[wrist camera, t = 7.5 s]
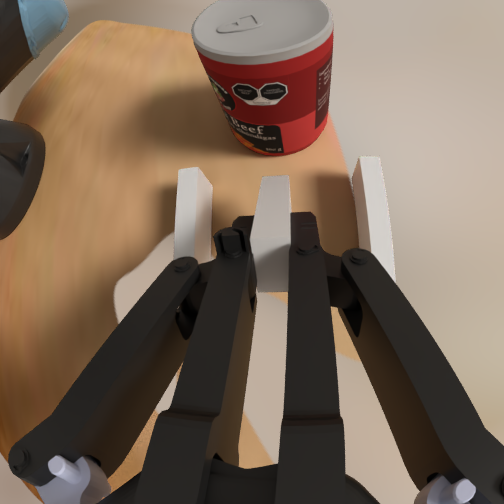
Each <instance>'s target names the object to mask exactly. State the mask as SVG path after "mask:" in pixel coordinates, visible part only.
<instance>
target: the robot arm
mask: <svg viewBox="0 0 504 504" xmlns="http://www.w3.org/2000/svg"><path fill="white" fill-rule="evenodd" d="M68 18H69V15H68V10H67V7H66V5H65V2H64V0H0V93H1V92H2V91H3V90H4V89H5V88H6V87H7V86H8V84H9V83H10V82H11V81H12V80H13V79H14V78H15V77H16V76H17V75H18V74H19V73H20V72H21V71H22V70H23V69H24V68H25V67H26V66H27V65H28V64H29V63H30V62H31V61H32V60H33V59H36V58H38V57H39V55H40V52H41V51H42V50H43V49H45V48H46V47H47V46H48V45H49V44H50V43H51V42H52V41H53V40H54V39H55V38H56V37H58V36H59V35H60V34H61V33H62V32H63V30H64V29H65V28H66V25H67V23H68ZM44 160H45V142H44V139H43V137H42V135H41V134H40V133H39V132H38V131H36V130H35V129H33V128H32V127H31V126H29V125H27V124H23V123H18V122H13V121H7V120H2V119H0V240H1V239H3V238H5V237H6V236H8V235H9V234H10V233H11V232H12V231H13V230H14V229H15V228H16V226H17V225H18V224H19V222H20V221H21V219H22V218H23V216H24V215H25V213H26V211H27V209H28V207H29V205H30V203H31V201H32V199H33V197H34V194H35V192H36V189H37V187H38V184H39V181H40V178H41V174H42V170H43V166H44ZM213 238H214V242H215V247H216V251H217V256H216V259H214V260H212V261H209V262H205V263H201V264H198V260H197V259H195V258H194V257H190V256H184V257H180V258H177V259H175V260H173V261H172V262H171V263H170V264H168V266H167V267H166V268H165V269H164V270H163V272H162V273H161V274H160V275H159V276H158V277H157V279H156V280H155V281H154V282H153V283H152V284H151V286H150V287H149V288H148V289H147V290H146V292H145V293H144V294H143V295H142V297H141V298H140V299H139V300H138V301H137V303H136V304H135V305H134V306H133V308H132V309H131V310H130V311H129V312H128V314H127V315H126V316H125V317H124V319H123V320H122V321H121V322H120V324H119V325H118V326H117V327H116V329H115V330H114V331H113V332H112V334H111V335H110V336H109V338H108V339H107V340H106V341H105V343H104V344H103V345H102V347H101V348H100V349H99V350H98V352H97V353H96V354H95V356H94V357H93V358H92V360H91V361H90V362H89V364H88V365H87V366H86V368H85V369H84V370H83V372H82V373H81V374H80V376H79V377H78V378H77V380H76V381H75V382H74V384H73V385H72V387H71V388H70V389H69V391H68V392H67V393H66V395H65V396H64V398H63V399H62V400H61V402H60V403H59V405H58V406H57V408H56V409H55V410H54V412H53V413H52V415H50V416H49V417H48V418H47V419H45V420H44V421H43V422H42V423H40V424H39V425H38V426H37V427H35V428H34V429H33V430H32V431H30V432H29V433H28V434H27V435H25V436H24V437H23V438H21V439H20V440H19V441H18V442H16V443H15V444H14V445H13V447H12V448H11V450H10V452H9V458H8V463H9V467H10V469H11V471H12V473H13V474H14V475H16V476H17V477H19V478H20V479H22V480H24V481H26V482H28V483H30V484H32V485H34V486H35V487H36V489H37V491H38V492H39V494H40V496H41V498H42V500H43V501H44V503H45V504H380V503H379V502H378V501H377V500H376V499H375V498H374V497H373V496H372V495H371V494H370V493H369V492H368V491H367V490H366V489H365V487H363V486H362V485H361V484H360V483H359V482H358V481H356V480H355V479H354V478H352V477H350V476H348V475H347V474H345V440H344V424H343V419H342V417H341V416H340V409H339V393H338V379H337V366H336V354H335V343H334V333H333V324H332V315H331V306H332V307H337V308H338V312H339V314H340V316H341V318H342V320H343V323H344V325H345V327H346V329H347V331H348V333H349V335H350V337H351V340H352V342H353V344H354V346H355V348H356V350H357V353H358V355H359V357H360V359H361V361H362V364H363V366H364V368H365V370H366V373H367V375H368V377H369V379H370V382H371V384H372V386H373V388H374V391H375V393H376V395H377V398H378V400H379V402H380V405H381V407H382V410H383V412H384V414H385V417H386V419H387V421H388V424H389V426H390V429H391V431H392V434H393V436H394V439H395V441H396V444H397V446H398V449H399V451H400V454H401V457H402V459H403V462H404V464H405V467H406V469H407V471H408V473H409V475H410V477H411V479H412V481H413V482H414V484H415V485H416V487H417V488H418V490H419V491H420V492H419V493H418V495H417V497H416V499H415V501H414V504H504V446H503V445H502V444H501V443H500V442H499V441H498V440H497V439H496V438H495V437H494V436H493V435H492V434H491V433H490V432H488V431H487V430H486V429H485V427H484V425H483V423H482V421H481V419H480V417H479V415H478V413H477V412H476V410H475V408H474V406H473V404H472V402H471V400H470V399H469V397H468V395H467V393H466V392H465V390H464V388H463V386H462V384H461V383H460V381H459V379H458V377H457V376H456V374H455V372H454V371H453V369H452V367H451V366H450V364H449V362H448V361H447V359H446V357H445V356H444V354H443V353H442V351H441V349H440V348H439V346H438V345H437V343H436V342H435V340H434V338H433V337H432V335H431V334H430V332H429V331H428V329H427V328H426V326H425V325H424V323H423V322H422V320H421V319H420V317H419V316H418V314H417V313H416V312H415V310H414V309H413V307H412V306H411V304H410V303H409V301H408V300H407V299H406V297H405V296H404V294H403V293H402V292H401V290H400V289H399V287H398V286H397V285H396V283H395V282H394V281H393V279H392V278H391V277H390V275H389V274H388V272H387V271H386V270H385V268H384V267H383V266H382V265H381V263H380V262H379V261H378V259H377V258H376V257H375V255H374V254H372V253H371V252H370V251H368V250H365V249H360V248H354V249H349V250H347V251H345V252H344V253H343V255H342V257H340V256H334V255H331V254H328V253H326V252H325V251H324V250H323V249H322V247H321V245H320V240H319V234H318V228H317V221H316V216H315V215H313V214H312V213H311V212H295V213H292V212H291V198H290V184H289V175H280V176H265V177H262V181H261V186H260V191H259V196H258V201H257V206H256V211H255V215H253V216H239V217H238V218H237V219H236V220H235V221H233V224H232V227H228V228H224V229H222V230H220V231H218V232H217V233H215V235H214V236H213ZM256 287H257V290H258V292H288V321H287V351H286V373H285V393H284V411H283V419H282V424H281V434H280V447H279V460H278V461H279V462H278V464H274V465H268V466H263V467H257V468H251V469H244V468H240V467H239V453H238V443H239V435H240V428H241V421H242V414H243V406H244V399H245V398H244V397H245V391H246V384H247V376H248V369H249V361H250V353H251V345H252V337H253V329H254V322H255V314H256V305H257V297H256ZM178 307H179V308H178ZM182 362H183V365H182V368H181V372H180V375H179V379H178V382H177V385H176V389H175V392H174V396H173V400H172V403H171V406H170V408H169V409H168V410H165V411H162V412H161V413H160V414H159V415H158V417H157V420H156V422H155V425H154V429H153V432H152V436H151V439H150V443H149V446H148V450H147V453H146V457H145V461H144V464H143V468H142V471H141V472H140V473H138V474H137V475H136V476H134V477H133V478H132V479H130V480H129V481H128V482H126V483H125V484H124V485H122V486H121V487H119V488H118V489H117V490H115V491H114V492H112V493H111V494H110V492H111V486H110V484H109V483H108V481H107V479H108V478H109V477H110V476H111V475H112V474H113V473H114V472H115V471H116V470H117V468H118V467H119V466H120V465H121V464H122V462H123V461H124V459H125V458H126V456H127V455H128V453H129V452H130V450H131V448H132V447H133V445H134V443H135V442H136V440H137V438H138V437H139V435H140V433H141V431H142V430H143V428H144V426H145V425H146V423H147V421H148V420H149V418H150V416H151V415H152V413H153V411H154V409H155V408H156V406H157V404H158V403H159V401H160V399H161V398H162V396H163V394H164V392H165V391H166V389H167V388H168V386H169V384H170V383H171V381H172V379H173V377H174V376H175V374H176V372H177V371H178V369H179V367H180V366H181V364H182ZM109 494H110V495H109ZM103 497H105V498H104V499H102V498H103ZM101 499H102V500H101ZM100 500H101V501H100Z"/></svg>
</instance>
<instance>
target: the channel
mask: <svg viewBox="0 0 504 504" xmlns="http://www.w3.org/2000/svg"><path fill="white" fill-rule="evenodd" d="M352 184H353V191H354V199H355V208H356V217H357V227H358V238H359V248H360V249H365V250H368V251H370V252H371V253H372V254H374V255H375V257H376V258H377V259H378V261H379V262H380V263H381V265H382V266H383V267H384V268H385V270H386V271H387V272H388V274H389V275H390V277H391V278H392V279H393V281H394V282H395V283H396V281H395V266H394V254H393V243H392V234H391V225H390V217H389V210H388V203H387V196H386V191H385V184H384V178H383V172H382V167H381V162H380V157H379V156H359V158H358V161H357V164H356V168H355V170H354V173H353V176H352ZM212 191H213V186H212V185H211V183H210V182H209V181H208V179H207V178H206V177H205V175H204V174H203V173H202V171H201V170H200V169H199V167H193V168H186V169H179V174H178V187H177V200H176V216H175V236H174V260H175V259H177V258H180V257H184V256H190V257H194V258H195V259H197V260H198V264H201V263H205V262H209V261H211V227H212Z"/></svg>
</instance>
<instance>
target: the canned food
mask: <svg viewBox="0 0 504 504" xmlns="http://www.w3.org/2000/svg"><path fill="white" fill-rule="evenodd" d="M191 32H192V38H193V41H194V45H195V48H196V50H197V52H198V55H199V57H200V60H201V62H202V64H203V66H204V68H205V71H206V73H207V75H208V77H209V80H210V82H211V84H212V86H213V89H214V91H215V93H216V95H217V98H218V100H219V102H220V104H221V107H222V109H223V111H224V114H225V116H226V118H227V120H228V123H229V125H230V127H231V130H232V132H233V134H234V136H235V137H236V138H237V139H238V140H239V141H240V142H241V143H242V144H244V145H245V146H246V147H248V148H249V149H251V150H253V151H255V152H257V153H261V154H264V155H272V156H281V155H288V154H293V153H296V152H298V151H301V150H303V149H305V148H306V147H308V146H310V145H311V144H312V143H313V142H314V141H315V140H316V139H317V138H318V137H319V135H320V134H321V132H322V131H323V130H324V128H325V125H326V123H327V116H328V106H329V94H330V82H331V69H332V68H331V67H332V53H333V20H332V13H331V10H330V8H329V7H328V6H327V4H325V3H324V2H323V1H322V0H219V1H217V2H215V3H213V4H212V5H210V6H209V7H207V8H206V9H205V10H204V11H203V12H202V13H201V14H200V15H199V16H198V17H197V18H196V20H195V22H194V23H193V26H192V30H191Z"/></svg>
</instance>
